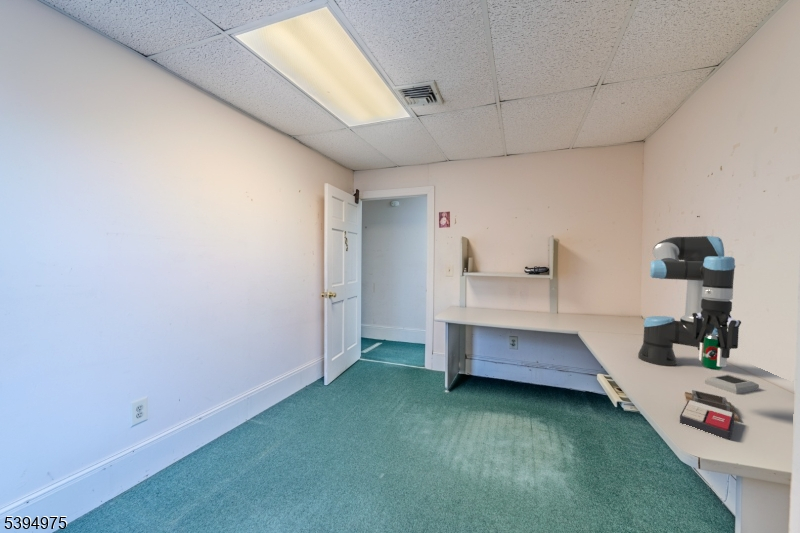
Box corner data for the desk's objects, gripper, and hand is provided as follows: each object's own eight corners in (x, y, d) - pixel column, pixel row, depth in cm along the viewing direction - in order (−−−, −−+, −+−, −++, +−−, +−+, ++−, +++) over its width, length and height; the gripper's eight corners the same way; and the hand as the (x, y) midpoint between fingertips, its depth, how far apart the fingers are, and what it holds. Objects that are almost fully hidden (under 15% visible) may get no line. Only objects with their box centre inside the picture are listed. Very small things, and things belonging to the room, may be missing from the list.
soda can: (726, 371, 103) (728, 337, 102) (709, 369, 104) (711, 336, 103) (714, 365, 108) (716, 333, 107) (698, 364, 109) (700, 332, 108)
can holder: (684, 394, 116) (685, 385, 116) (729, 404, 108) (730, 395, 108) (688, 409, 105) (689, 399, 104) (739, 422, 97) (739, 412, 97)
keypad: (759, 382, 121) (736, 386, 117) (758, 390, 121) (736, 395, 117) (727, 372, 130) (705, 376, 126) (727, 380, 130) (705, 384, 126)
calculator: (679, 413, 95) (688, 397, 104) (679, 426, 96) (687, 409, 105) (730, 430, 87) (734, 411, 96) (729, 443, 87) (734, 423, 96)
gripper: (680, 295, 113) (677, 354, 114) (737, 303, 95) (732, 373, 96) (698, 295, 114) (694, 354, 115) (758, 303, 96) (753, 373, 97)
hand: (712, 363), depth 106 cm, fingers closed on soda can, 5 cm apart
